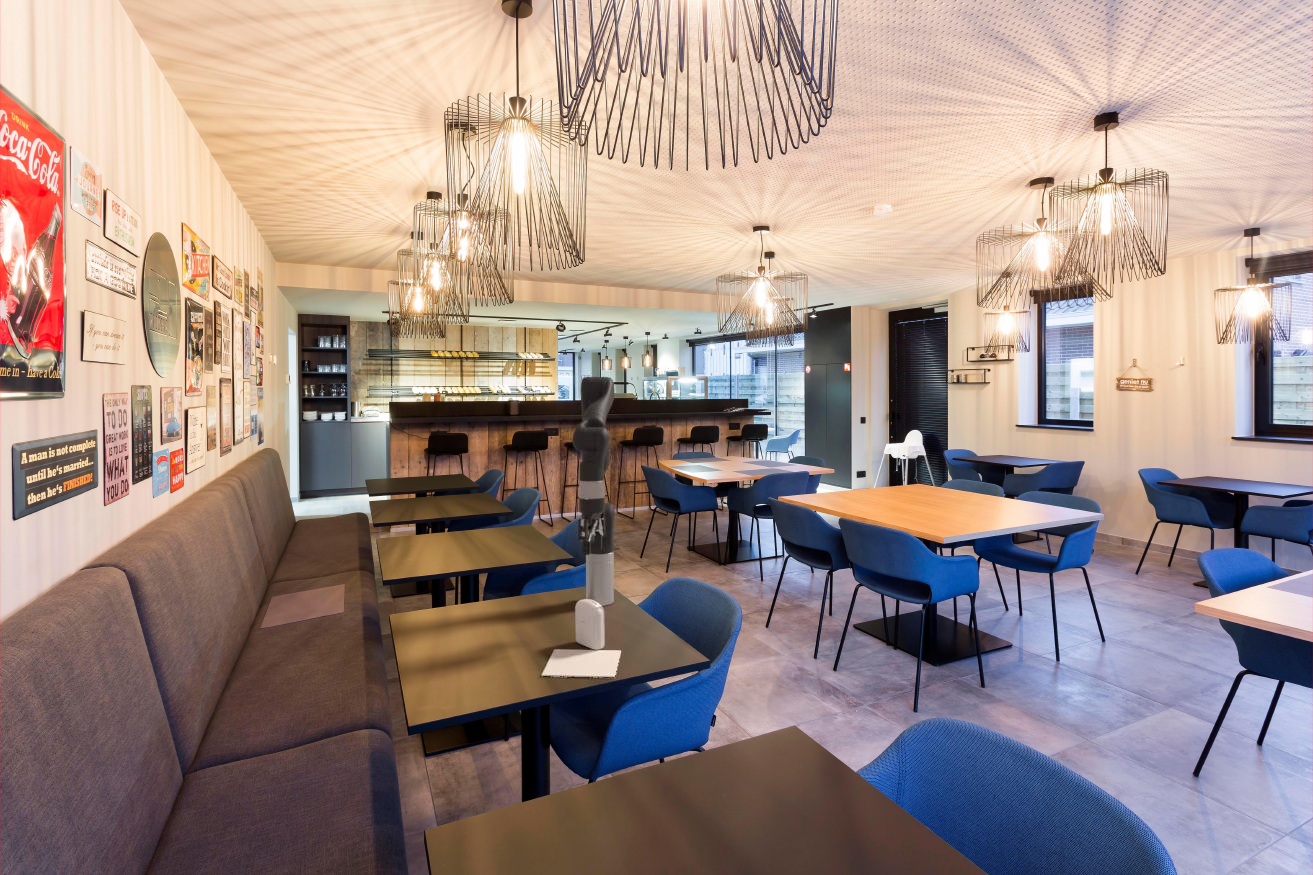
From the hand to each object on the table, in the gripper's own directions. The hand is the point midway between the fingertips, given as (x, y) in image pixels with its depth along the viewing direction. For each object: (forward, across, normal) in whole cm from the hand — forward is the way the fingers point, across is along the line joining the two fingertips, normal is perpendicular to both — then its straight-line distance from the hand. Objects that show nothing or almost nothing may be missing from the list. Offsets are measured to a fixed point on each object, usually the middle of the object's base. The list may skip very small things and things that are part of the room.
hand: (592, 551), depth 183 cm
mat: (+24, +21, +6) cm, 33 cm away
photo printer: (+24, +10, +3) cm, 26 cm away
